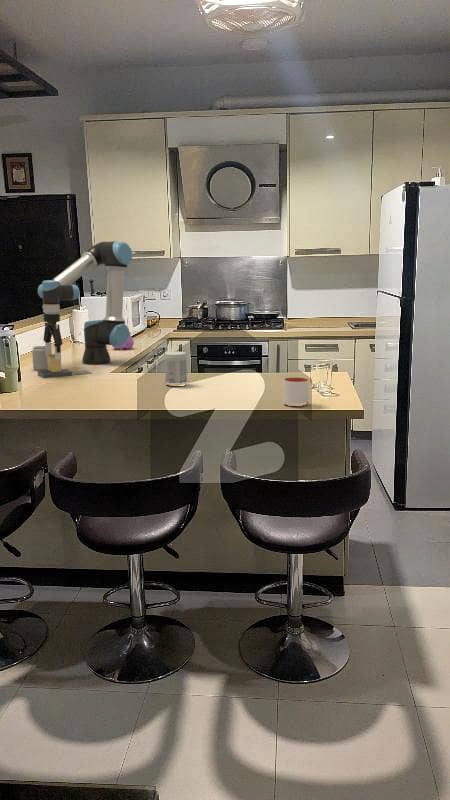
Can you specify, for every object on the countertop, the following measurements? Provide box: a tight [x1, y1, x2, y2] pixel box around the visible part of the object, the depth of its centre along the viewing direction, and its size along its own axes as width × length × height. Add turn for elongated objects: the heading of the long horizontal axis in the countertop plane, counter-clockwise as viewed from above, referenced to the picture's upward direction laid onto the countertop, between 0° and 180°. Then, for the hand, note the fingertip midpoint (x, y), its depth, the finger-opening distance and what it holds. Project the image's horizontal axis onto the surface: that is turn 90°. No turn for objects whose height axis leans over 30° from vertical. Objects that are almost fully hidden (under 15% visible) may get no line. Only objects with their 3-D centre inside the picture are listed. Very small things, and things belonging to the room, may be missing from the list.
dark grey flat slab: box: [37, 368, 73, 379], centre depth 299 cm, size 14×9×2 cm, turn 124°
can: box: [31, 345, 48, 372], centre depth 314 cm, size 8×8×12 cm
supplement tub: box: [164, 351, 188, 383], centre depth 275 cm, size 10×10×15 cm
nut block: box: [47, 353, 62, 373], centre depth 298 cm, size 5×5×10 cm
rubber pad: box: [72, 370, 93, 376], centre depth 307 cm, size 8×8×1 cm
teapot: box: [111, 331, 135, 351], centre depth 390 cm, size 20×14×12 cm
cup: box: [282, 376, 310, 403], centre depth 239 cm, size 10×10×10 cm
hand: (53, 357), depth 297 cm, fingers open, 13 cm apart
